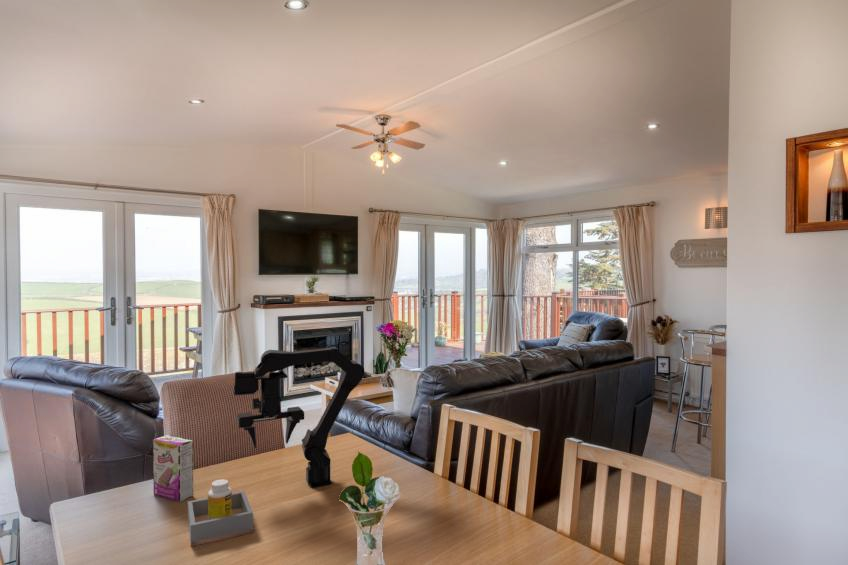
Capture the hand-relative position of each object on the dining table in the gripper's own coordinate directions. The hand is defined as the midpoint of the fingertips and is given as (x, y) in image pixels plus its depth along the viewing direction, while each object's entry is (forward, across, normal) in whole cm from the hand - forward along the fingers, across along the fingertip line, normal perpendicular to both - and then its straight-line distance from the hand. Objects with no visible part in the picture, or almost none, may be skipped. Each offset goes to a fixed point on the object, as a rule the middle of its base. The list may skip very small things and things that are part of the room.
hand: (270, 445), depth 151 cm
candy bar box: (+13, +26, -8) cm, 30 cm away
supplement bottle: (+12, +16, +17) cm, 26 cm away
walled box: (+13, +16, +17) cm, 27 cm away
